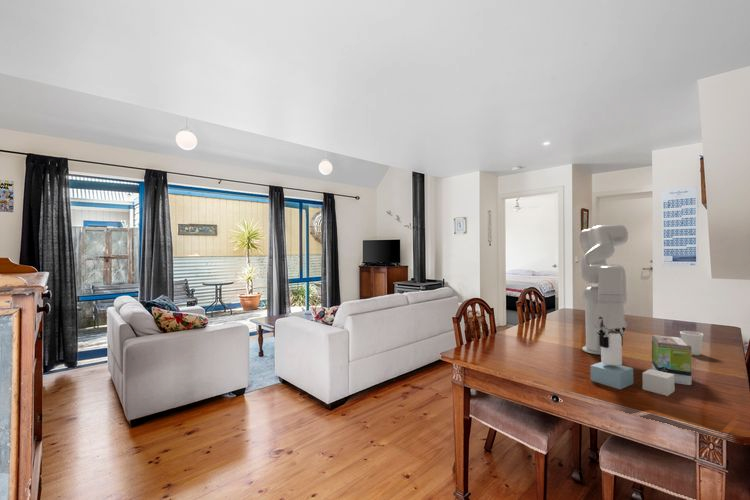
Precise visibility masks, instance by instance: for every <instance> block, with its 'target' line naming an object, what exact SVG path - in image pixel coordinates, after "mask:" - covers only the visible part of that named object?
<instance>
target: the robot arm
mask: <svg viewBox="0 0 750 500" xmlns="http://www.w3.org/2000/svg"><path fill="white" fill-rule="evenodd" d="M578 236H579V237H578V240H579V243H580V246H581V248H582V250H583V253H584V255H583V256H582V257H581V260H580V272H581V273H580V275H581V279H582V280H583V281H584V282H585V283H588V284H596V285H597V286H588V287H586V288H584V289H583V291H582V297H583V303H584V312H585V314H584V315H585V318H584V319H585V345H584V346H582V351H583V352H585V353H588V354H593V355H599V356H601V347H605V348H608V347H609V338H608V337H607V335H608V331H609V330H614V331H618V332H620V335H621V338H622V347H623V342H624V340H623V339H624V338H623V337H624V335H625V330H626V328H627V327H628V323H627V321H626V317H625V316H626V315H625V308H624V307H625V306H626V305H627V300H628V299H627V278H626V276H627V275H626V270H625V268H624V266H622V265H620V264H609V263H607V259H609V258H611V257H612V256H613V255H614V253H615V247H617V246H618V247H619V246H622V245H624V244H626V243H627V242H628V239H629V232H628V230H627V227H626V226H624V225H622V224H604V225H603V224H601V225H600V224H599V225H596V226H593V227H591V228H587V229H583V230H581V231H580V232H579V235H578ZM603 330H605V332H603Z"/></svg>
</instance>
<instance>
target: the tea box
mask: <svg viewBox="0 0 750 500" xmlns="http://www.w3.org/2000/svg"><path fill="white" fill-rule="evenodd" d="M691 354H692V350H691V345H690V344H689V343H687V342H686V341H685V340H684V339H683V338H681V337H677V336H668V335H667V336H666V335H665V336H664V335H657V334H652V335H651V369H653V370H657V371H661V372H666V373H670V374H674V384H679V385H686V386H691V385H692V380H693V379H692V371H693V370H692V360H693V359H692V355H691Z"/></svg>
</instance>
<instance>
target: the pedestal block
mask: <svg viewBox="0 0 750 500" xmlns="http://www.w3.org/2000/svg"><path fill="white" fill-rule="evenodd" d="M591 381H592V382H595V383H597V384H600V385H603V386H604V385H605V386H608V387H611V388H614V389H617V390H622V389H625V388H627V387H630V386H632V385H633V384H634V367H630V366H626V365H622V364H621V365H620V366H611V365H607V364H604V363H602V361H600V362H596V363H593V364H590V382H591Z"/></svg>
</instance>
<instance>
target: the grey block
mask: <svg viewBox="0 0 750 500" xmlns="http://www.w3.org/2000/svg"><path fill="white" fill-rule="evenodd" d="M641 374H642V377H641V378H642V390H643V391H644V390H645V391H648V392H652V393H655V394H658V395H662V396H666V397H668V396H670V395H671V394H673V393H674V392H675V391H676V390H675V384H676V383H674V374H670V373H666V372H661V371H657V370H653V369H652V368H649V369H647V370H645V371H643V372H642V373H641Z"/></svg>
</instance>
